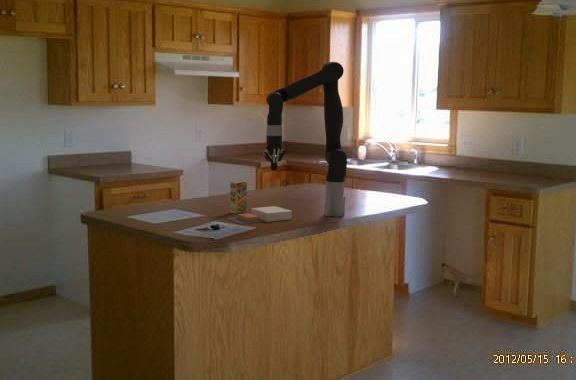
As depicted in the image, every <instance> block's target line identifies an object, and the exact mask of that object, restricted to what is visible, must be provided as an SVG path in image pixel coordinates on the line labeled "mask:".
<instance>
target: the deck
mask: <svg viewBox="0 0 576 380" xmlns="http://www.w3.org/2000/svg"><path fill="white" fill-rule="evenodd" d="M292 213H293V211H292V210H289V209H286V208H283V207H279V206H276V205H273V206H263V207H251V211H250V214H252V215H255V216H258V219H261V220H264V221H266V222H267V223H268V222H277V221H288V220H292V219H293V214H292ZM266 222H265V223H266Z"/></svg>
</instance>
